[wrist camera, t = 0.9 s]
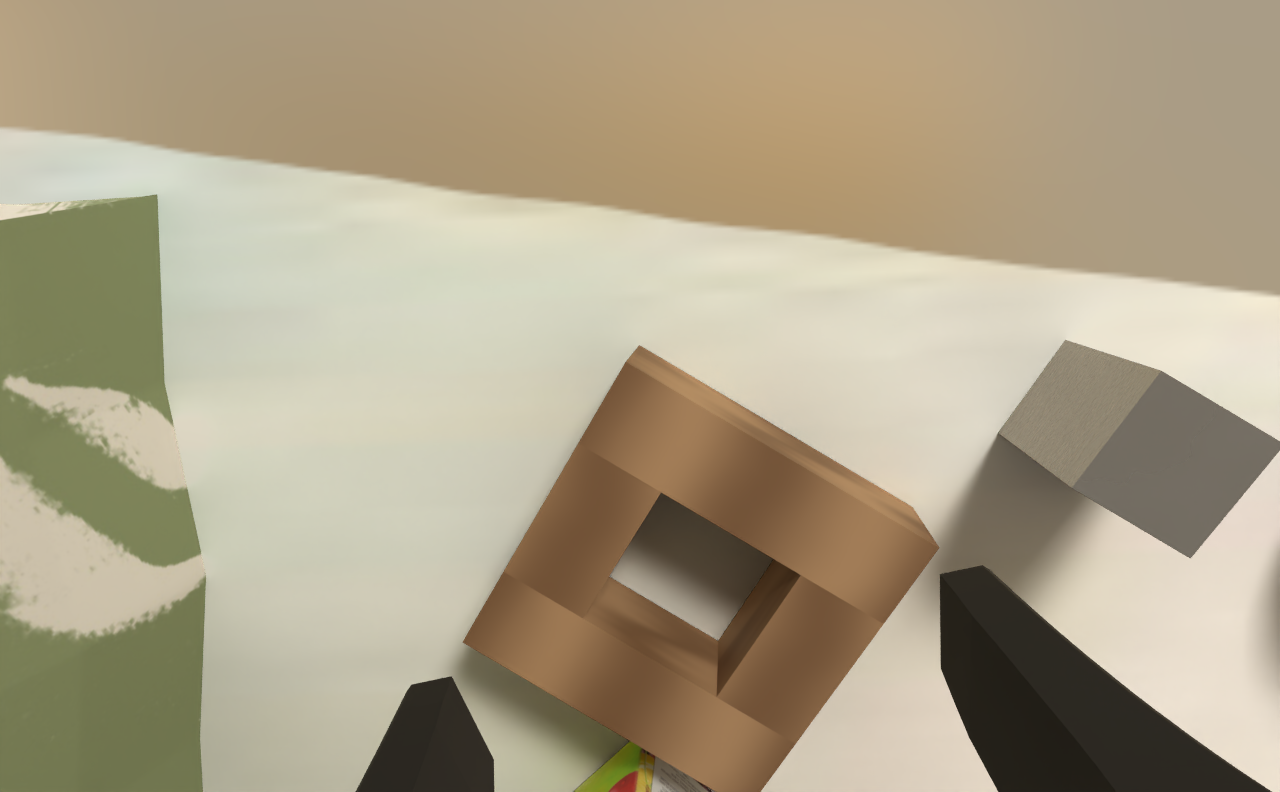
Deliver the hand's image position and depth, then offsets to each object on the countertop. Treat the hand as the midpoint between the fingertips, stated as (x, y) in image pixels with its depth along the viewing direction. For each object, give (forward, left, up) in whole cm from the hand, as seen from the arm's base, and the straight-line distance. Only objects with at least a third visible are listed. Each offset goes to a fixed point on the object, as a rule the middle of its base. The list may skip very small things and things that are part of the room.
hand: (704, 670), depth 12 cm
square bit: (-11, -6, -19) cm, 23 cm away
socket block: (-2, +6, -19) cm, 20 cm away
